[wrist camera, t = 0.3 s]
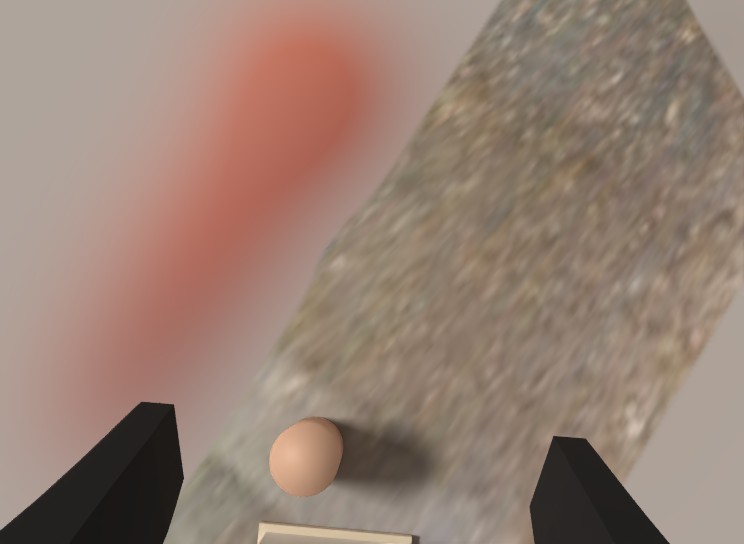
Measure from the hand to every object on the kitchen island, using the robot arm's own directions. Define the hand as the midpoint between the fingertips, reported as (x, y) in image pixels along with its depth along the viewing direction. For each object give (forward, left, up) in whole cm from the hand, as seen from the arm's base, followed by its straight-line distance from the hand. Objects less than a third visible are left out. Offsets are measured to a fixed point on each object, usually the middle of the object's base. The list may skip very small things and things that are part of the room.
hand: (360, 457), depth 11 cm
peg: (-3, +3, -28) cm, 29 cm away
